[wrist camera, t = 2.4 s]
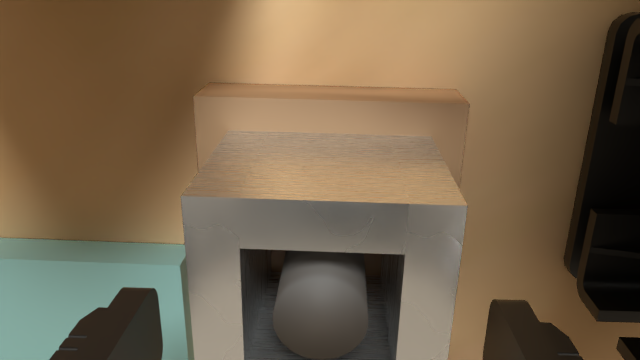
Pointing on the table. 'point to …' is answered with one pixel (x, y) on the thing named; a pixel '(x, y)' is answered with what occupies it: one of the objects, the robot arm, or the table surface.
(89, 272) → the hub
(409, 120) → the stand
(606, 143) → the end cap
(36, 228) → the table surface
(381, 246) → the collar
